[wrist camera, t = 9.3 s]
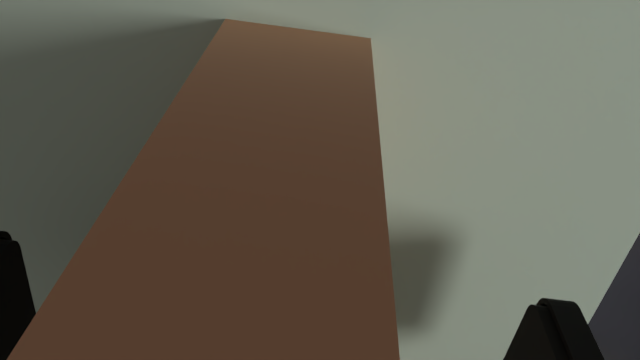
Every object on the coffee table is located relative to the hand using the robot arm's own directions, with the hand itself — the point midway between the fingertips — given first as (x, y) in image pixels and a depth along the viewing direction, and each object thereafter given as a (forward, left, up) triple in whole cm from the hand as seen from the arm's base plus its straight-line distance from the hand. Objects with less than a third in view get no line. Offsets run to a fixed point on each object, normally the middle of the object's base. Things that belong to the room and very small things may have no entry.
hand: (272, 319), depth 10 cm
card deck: (0, 0, -2) cm, 2 cm away
